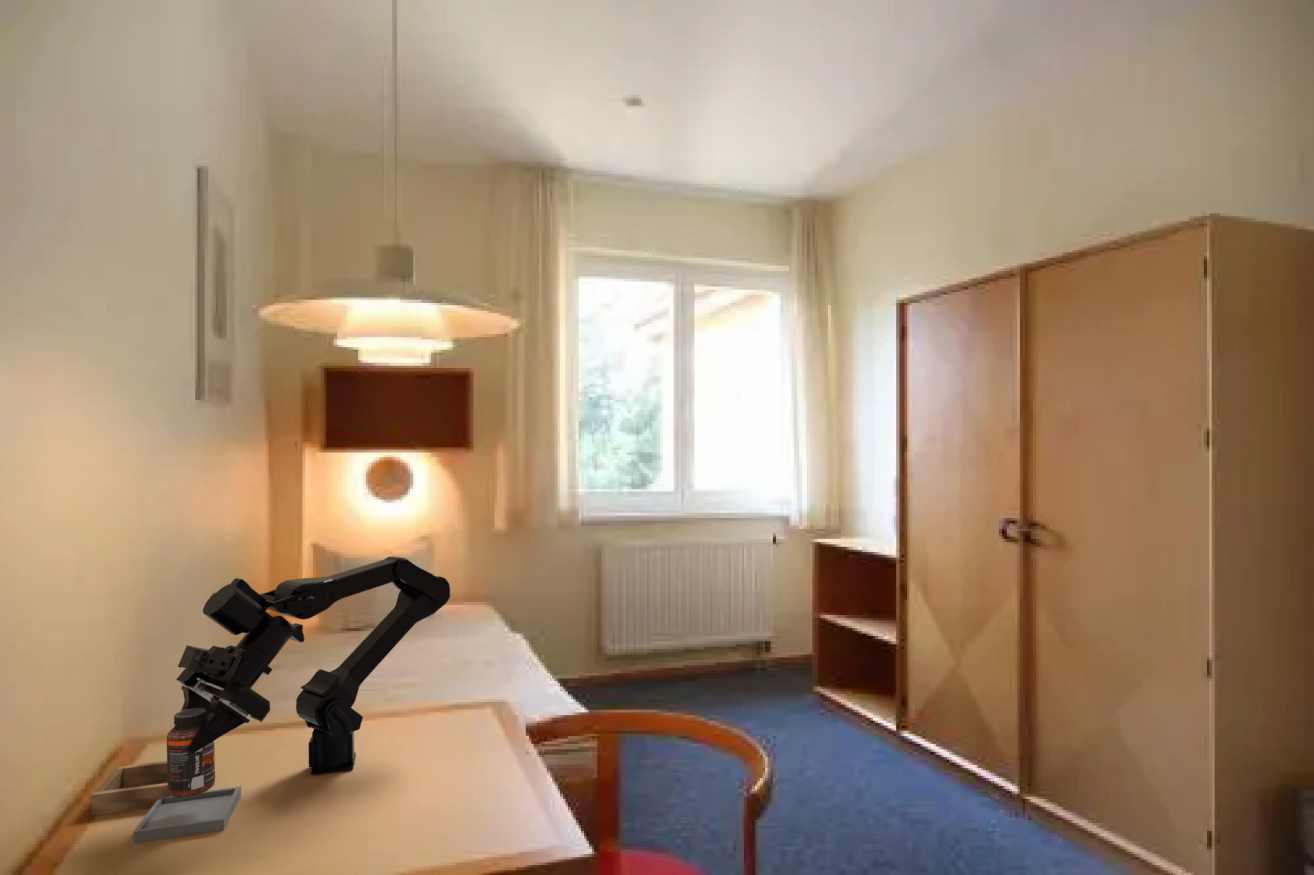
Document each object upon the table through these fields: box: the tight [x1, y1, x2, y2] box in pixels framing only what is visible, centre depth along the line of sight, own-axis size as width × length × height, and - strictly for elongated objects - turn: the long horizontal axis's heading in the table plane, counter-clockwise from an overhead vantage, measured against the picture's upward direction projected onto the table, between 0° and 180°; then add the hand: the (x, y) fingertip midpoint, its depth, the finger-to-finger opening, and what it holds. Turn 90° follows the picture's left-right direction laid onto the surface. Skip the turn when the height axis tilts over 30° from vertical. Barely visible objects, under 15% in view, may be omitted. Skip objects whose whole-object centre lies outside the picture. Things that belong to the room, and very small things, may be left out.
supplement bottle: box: [166, 708, 216, 797], centre depth 113 cm, size 6×6×11 cm
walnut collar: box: [91, 760, 171, 816], centre depth 120 cm, size 10×10×3 cm
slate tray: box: [132, 785, 242, 844], centre depth 112 cm, size 11×11×2 cm
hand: (180, 746), depth 111 cm, fingers closed on supplement bottle, 6 cm apart
